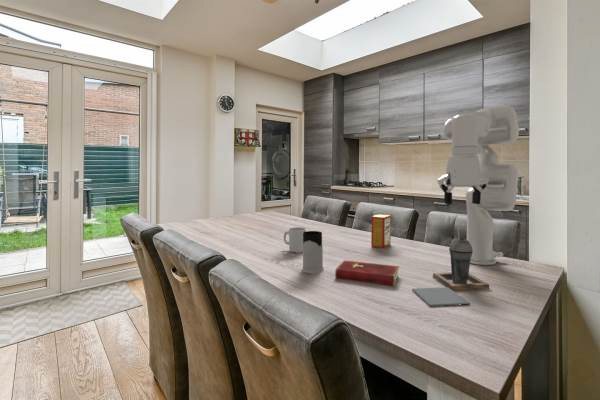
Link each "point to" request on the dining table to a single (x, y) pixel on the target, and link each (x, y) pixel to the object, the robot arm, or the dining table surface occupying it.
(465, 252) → the beverage cup
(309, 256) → the glass holder
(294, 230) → the mug
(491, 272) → the dining table surface
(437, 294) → the slate mat
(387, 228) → the baking soda box
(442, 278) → the frame
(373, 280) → the hardcover book
